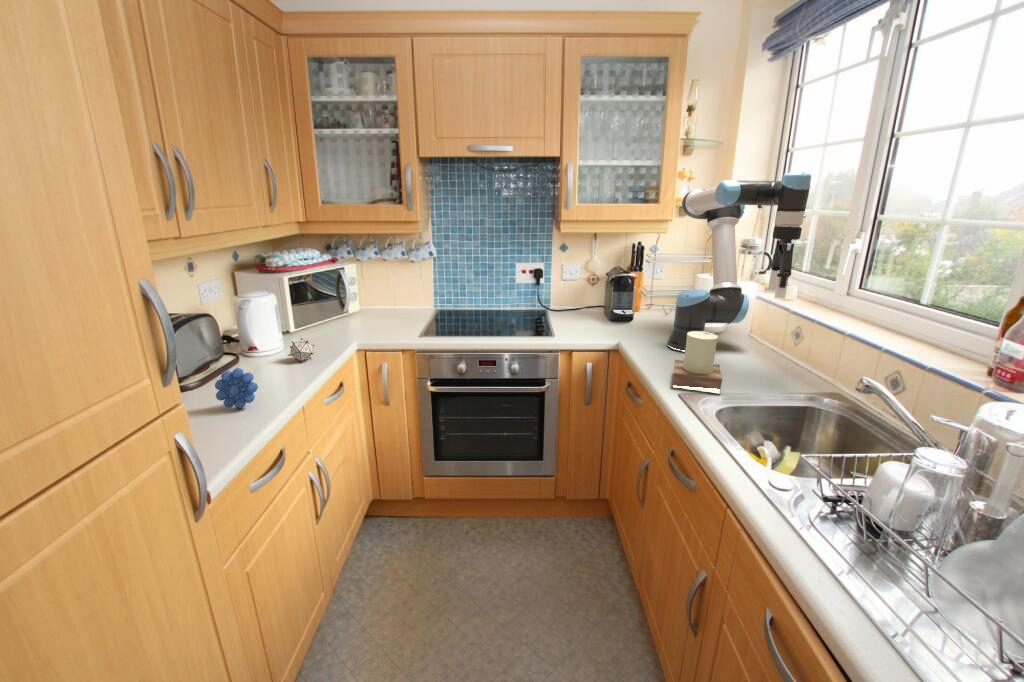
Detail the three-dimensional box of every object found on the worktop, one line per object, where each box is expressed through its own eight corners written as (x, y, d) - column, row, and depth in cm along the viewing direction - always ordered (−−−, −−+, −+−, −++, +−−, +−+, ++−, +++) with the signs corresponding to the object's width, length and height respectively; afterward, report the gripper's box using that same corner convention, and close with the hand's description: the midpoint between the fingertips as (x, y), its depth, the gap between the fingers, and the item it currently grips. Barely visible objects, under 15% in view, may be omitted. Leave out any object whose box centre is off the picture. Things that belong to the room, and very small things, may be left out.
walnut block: (673, 373, 161) (675, 359, 160) (717, 379, 157) (719, 364, 155) (672, 388, 149) (673, 373, 147) (719, 394, 144) (722, 379, 143)
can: (717, 369, 151) (723, 333, 147) (705, 376, 145) (710, 339, 141) (690, 362, 157) (695, 327, 154) (677, 368, 151) (681, 333, 148)
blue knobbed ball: (268, 402, 135) (262, 362, 131) (256, 412, 128) (249, 371, 125) (227, 402, 134) (220, 362, 131) (213, 412, 128) (205, 371, 124)
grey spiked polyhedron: (299, 372, 168) (279, 355, 162) (302, 357, 174) (282, 340, 168) (320, 360, 167) (301, 342, 161) (322, 346, 174) (303, 328, 167)
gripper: (811, 228, 131) (797, 302, 138) (793, 224, 154) (782, 288, 160) (781, 227, 134) (768, 300, 140) (768, 223, 156) (757, 286, 163)
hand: (775, 294), depth 150 cm, fingers open, 13 cm apart
